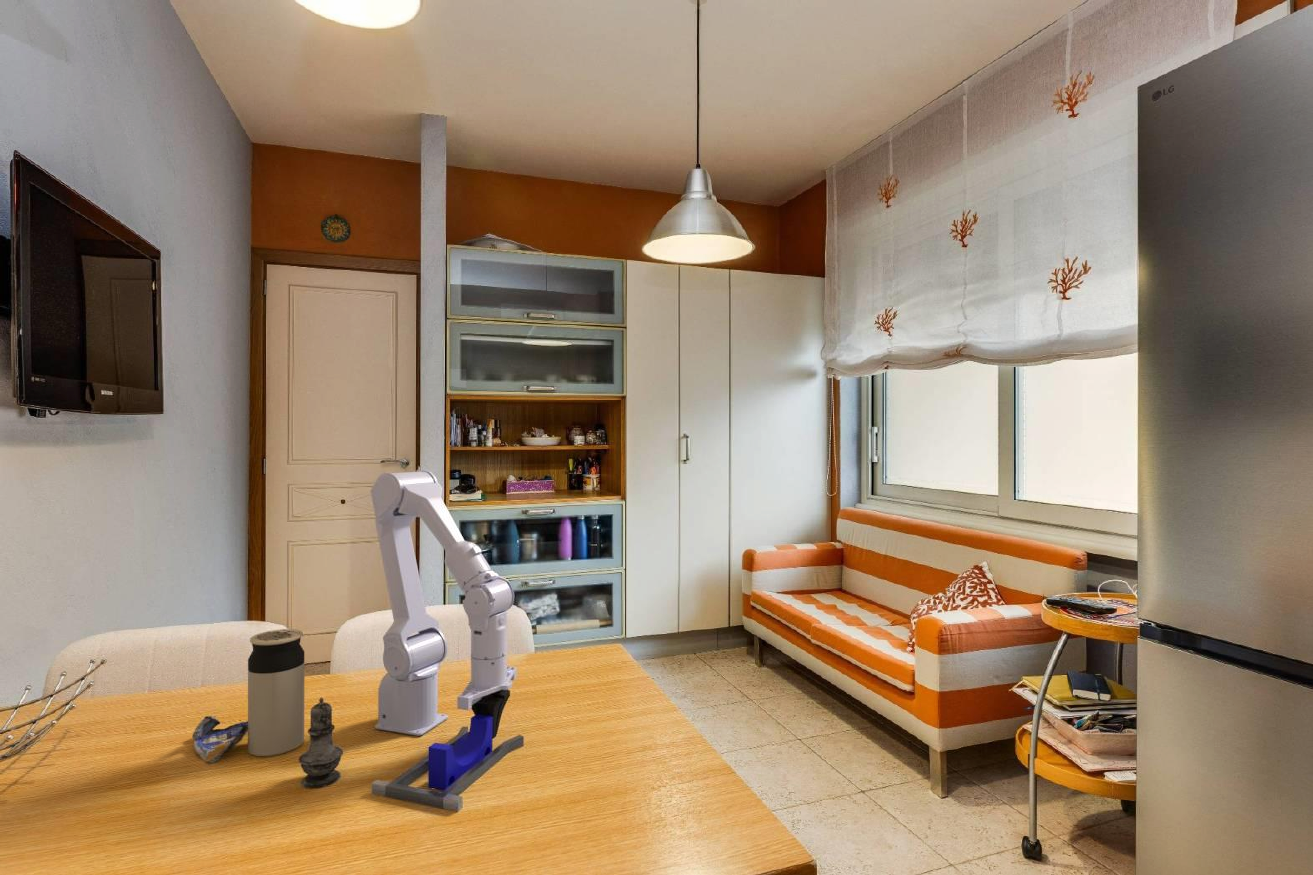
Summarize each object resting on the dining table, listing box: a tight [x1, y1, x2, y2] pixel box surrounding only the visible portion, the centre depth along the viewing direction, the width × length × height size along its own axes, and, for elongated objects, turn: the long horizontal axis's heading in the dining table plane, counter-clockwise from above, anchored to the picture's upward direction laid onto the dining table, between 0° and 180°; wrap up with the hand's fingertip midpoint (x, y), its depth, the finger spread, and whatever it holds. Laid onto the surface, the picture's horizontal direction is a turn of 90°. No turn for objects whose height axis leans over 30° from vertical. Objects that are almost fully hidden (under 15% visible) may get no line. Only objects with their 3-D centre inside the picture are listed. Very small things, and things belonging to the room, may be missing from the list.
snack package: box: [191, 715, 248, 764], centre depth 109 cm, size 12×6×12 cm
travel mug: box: [247, 628, 305, 757], centre depth 109 cm, size 8×8×18 cm
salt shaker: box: [298, 697, 344, 790], centre depth 99 cm, size 6×6×12 cm
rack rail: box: [371, 726, 525, 812], centre depth 102 cm, size 14×20×2 cm
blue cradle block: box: [427, 714, 494, 792], centre depth 102 cm, size 12×4×6 cm, turn 162°
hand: (488, 737), depth 110 cm, fingers closed
